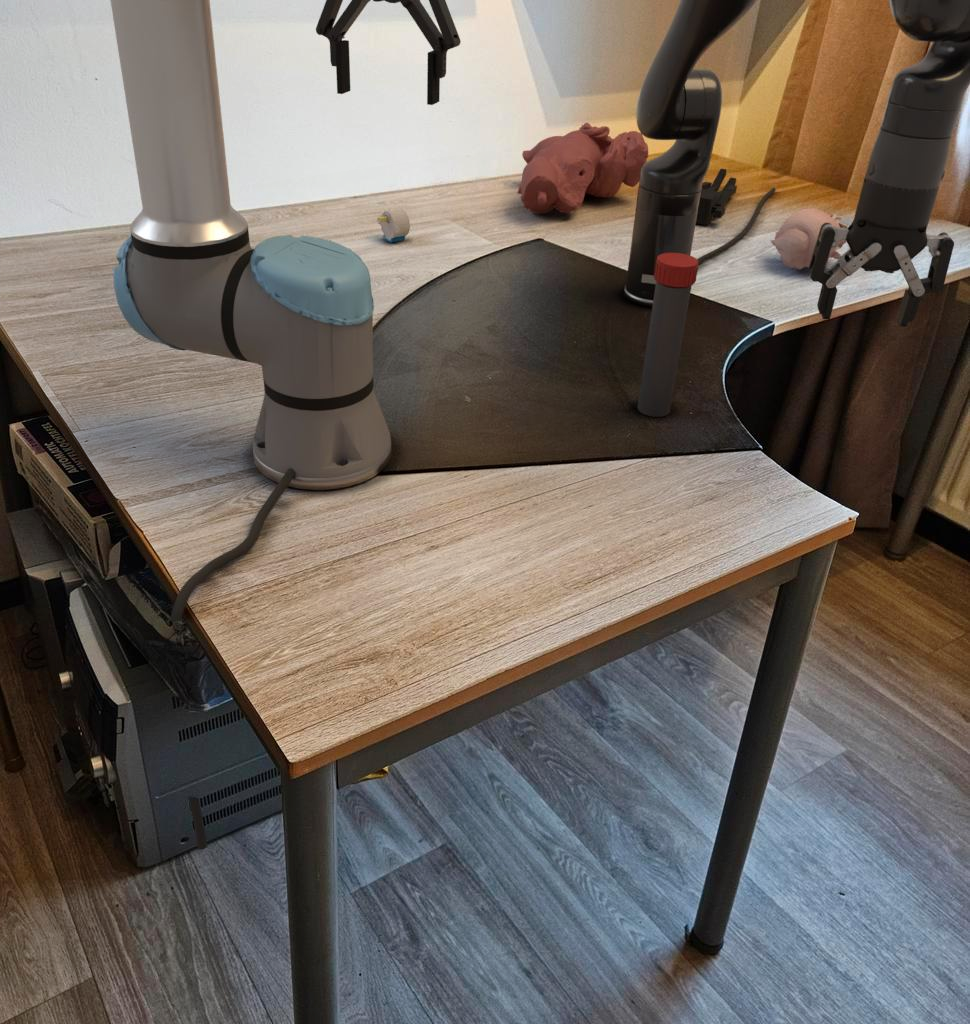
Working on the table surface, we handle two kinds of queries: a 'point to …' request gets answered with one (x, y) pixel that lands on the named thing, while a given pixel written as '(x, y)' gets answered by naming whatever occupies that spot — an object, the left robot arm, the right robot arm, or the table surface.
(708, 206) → the black forked piece
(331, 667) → the table surface
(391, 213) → the electric motor
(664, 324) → the bottle
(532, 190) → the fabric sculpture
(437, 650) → the table surface
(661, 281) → the lid
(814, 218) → the toy
